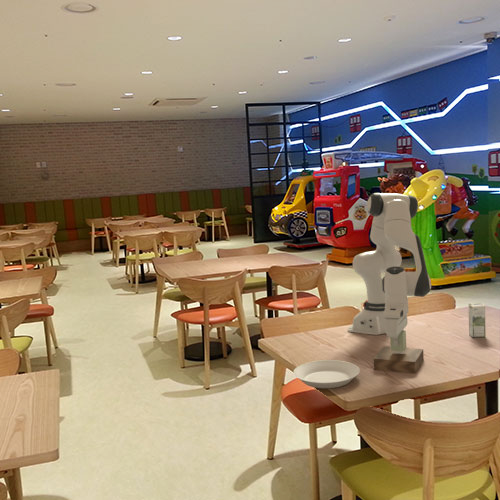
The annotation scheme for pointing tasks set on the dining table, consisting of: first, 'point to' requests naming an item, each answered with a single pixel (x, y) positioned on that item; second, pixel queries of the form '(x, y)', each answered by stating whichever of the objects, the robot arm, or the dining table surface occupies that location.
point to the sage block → (401, 344)
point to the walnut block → (398, 360)
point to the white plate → (326, 373)
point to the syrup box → (477, 320)
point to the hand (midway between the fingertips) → (398, 342)
